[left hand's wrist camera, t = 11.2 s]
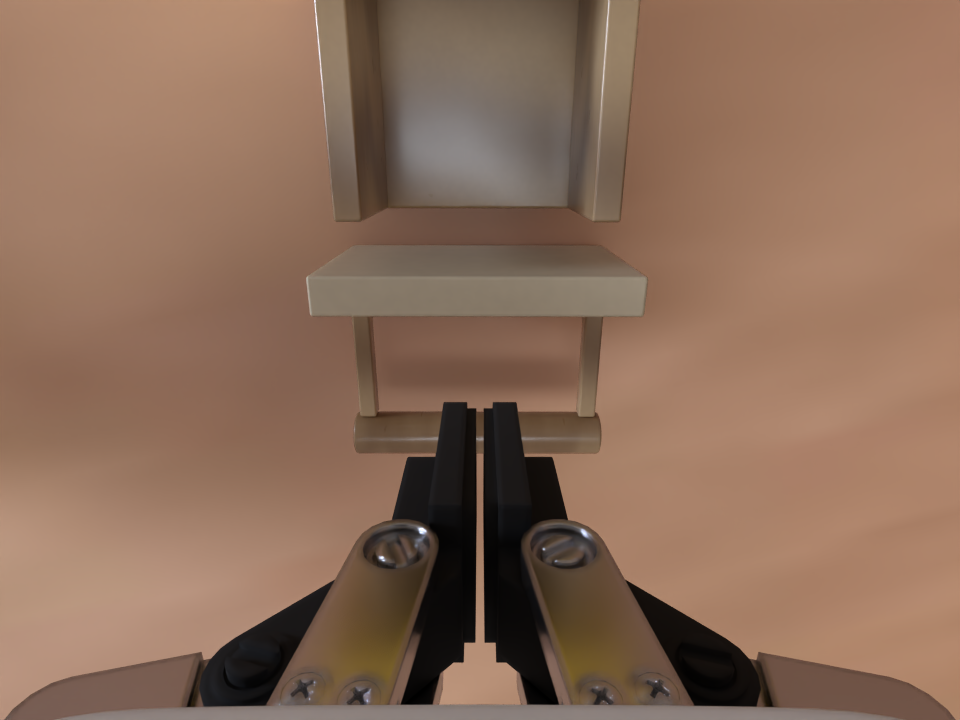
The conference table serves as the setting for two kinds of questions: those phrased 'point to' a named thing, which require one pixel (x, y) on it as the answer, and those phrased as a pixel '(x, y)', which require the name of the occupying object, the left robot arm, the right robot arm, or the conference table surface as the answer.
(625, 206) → the conference table surface
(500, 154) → the drawer
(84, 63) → the conference table surface
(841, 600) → the conference table surface
